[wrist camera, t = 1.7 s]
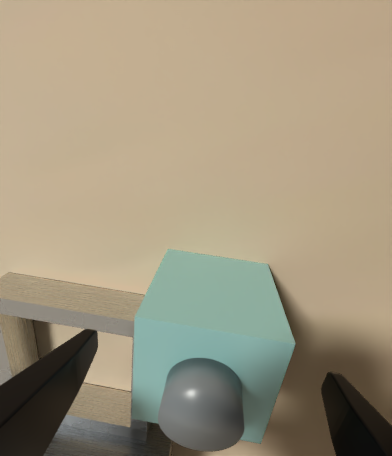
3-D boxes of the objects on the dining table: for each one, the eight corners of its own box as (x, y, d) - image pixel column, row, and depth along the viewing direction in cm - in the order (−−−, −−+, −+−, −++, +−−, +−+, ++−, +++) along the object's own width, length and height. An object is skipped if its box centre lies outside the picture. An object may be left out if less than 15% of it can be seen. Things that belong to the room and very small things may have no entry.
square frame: (190, 302, 13) (167, 421, 8) (167, 476, 19) (145, 611, 14) (-17, 268, 14) (-174, 354, 8) (25, 446, 20) (-51, 563, 15)
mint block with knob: (267, 263, 12) (308, 381, 6) (248, 340, 14) (266, 486, 8) (168, 248, 12) (119, 347, 6) (162, 325, 14) (119, 456, 8)
